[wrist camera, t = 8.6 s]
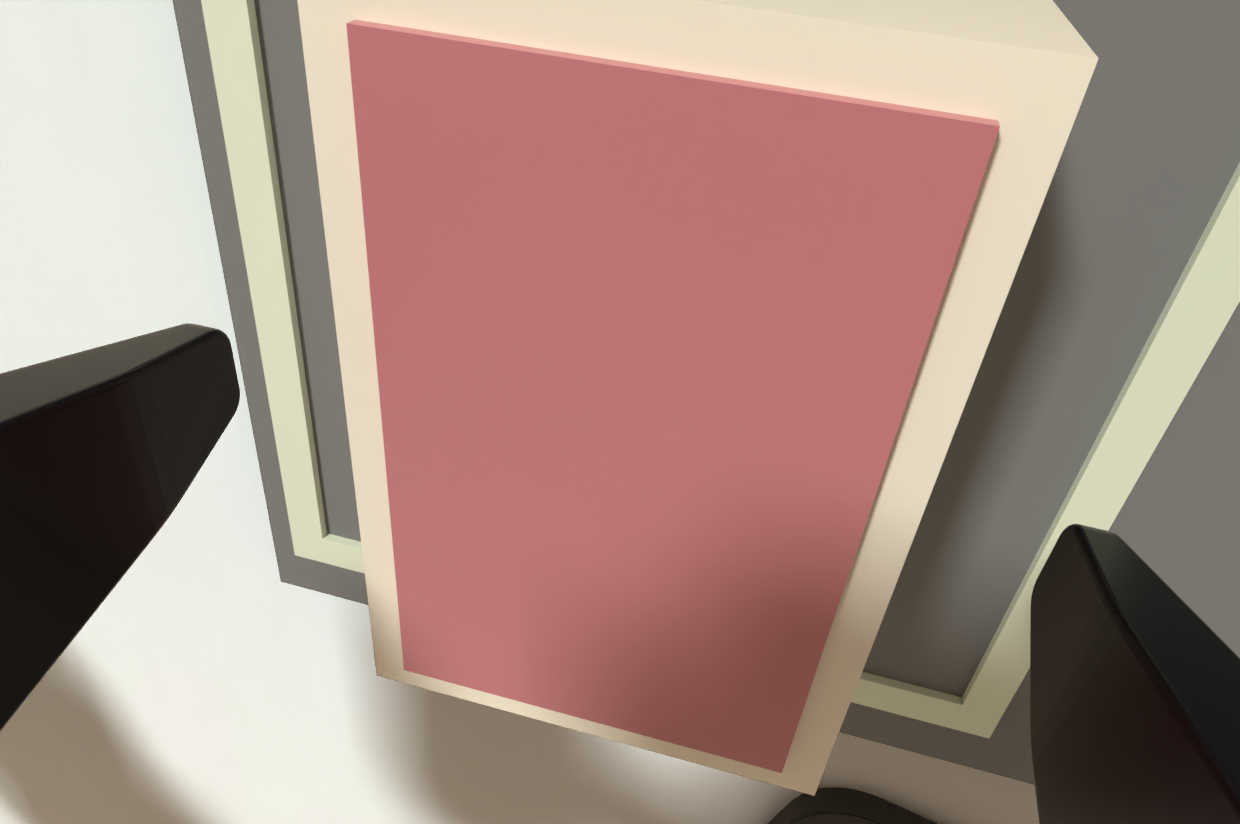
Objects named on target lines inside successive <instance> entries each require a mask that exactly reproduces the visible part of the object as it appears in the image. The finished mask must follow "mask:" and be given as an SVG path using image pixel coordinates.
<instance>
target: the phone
mask: <svg viewBox="0 0 1240 824" xmlns="http://www.w3.org/2000/svg"><path fill="white" fill-rule="evenodd" d="M768 824H937V823H935V822H932V821H930V820H928V819H926V818H924V817H921V816H919V815H917V814H915V813H913V812H911V811H908V810H906V809H904V808H902V807H900V806H897V805H895V804H893V803H891V802H888V801H886V800H884V799H881V798H879V797H877V796H874V795H871V794H868V793H865V792H861V791H857V790H852V789H846V788H821V789H817V791H816V793H815V796H813V795H809V794H806V793H804V794H802V795H800V796H798V797H797V798H795V799H794V800H793V801H791V802H790V803H789V804H788V805H787V806H786V807H785V808H784V809H783V810H781V811H780V812H779V813H778V814H777V815H776V816H775V817H774V818H773V819H772V820H771V821H770V822H769V823H768Z"/></svg>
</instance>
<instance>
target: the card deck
mask: <svg viewBox="0 0 1240 824" xmlns="http://www.w3.org/2000/svg"><path fill="white" fill-rule="evenodd" d="M297 2H298V11H299V19H300V28H301V36H302V45H303V53H304V62H305V70H306V78H307V87H308V95H309V104H310V112H311V121H312V129H313V138H314V146H315V155H316V163H317V172H318V180H319V189H320V197H321V206H322V214H323V223H324V231H325V240H326V248H327V257H328V265H329V274H330V282H331V291H332V299H333V308H334V316H335V325H336V333H337V342H338V350H339V359H340V367H341V376H342V384H343V393H344V401H345V410H346V418H347V427H348V435H349V444H350V452H351V461H352V469H353V478H354V486H355V495H356V503H357V512H358V520H359V529H360V537H361V546H362V554H363V563H364V571H365V580H366V588H367V597H368V605H369V614H370V622H371V631H372V639H373V648H374V656H375V665H376V673H377V676H381V677H384V678H388V679H392V680H395V681H399V682H402V683H406V684H410V685H413V686H417V687H421V688H424V689H428V690H431V691H435V692H439V693H442V694H446V695H450V696H453V697H457V698H461V699H464V700H468V701H471V702H475V703H479V704H482V705H486V706H490V707H493V708H497V709H500V710H504V711H508V712H511V713H515V714H519V715H522V716H526V717H530V718H533V719H537V720H540V721H544V722H548V723H551V724H555V725H559V726H562V727H566V728H569V729H573V730H577V731H580V732H584V733H588V734H591V735H595V736H599V737H602V738H606V739H609V740H613V741H617V742H620V743H624V744H628V745H631V746H635V747H638V748H642V749H646V750H649V751H653V752H657V753H660V754H664V755H668V756H671V757H675V758H678V759H682V760H686V761H689V762H693V763H697V764H700V765H704V766H707V767H711V768H715V769H718V770H722V771H726V772H729V773H733V774H737V775H740V776H744V777H747V778H751V779H755V780H758V781H762V782H766V783H769V784H773V785H776V786H780V787H784V788H787V789H791V790H795V791H798V792H802V793H806V794H809V795H813V796H815V793H816V791H817V788H818V785H819V783H820V780H821V778H822V775H823V772H824V770H825V767H826V765H827V762H828V759H829V757H830V754H831V752H832V749H833V747H834V744H835V741H836V739H837V736H838V734H839V731H840V728H841V726H842V723H843V721H844V718H845V715H846V713H847V710H848V708H849V705H850V702H851V700H852V697H853V695H854V692H855V689H856V687H857V684H858V682H859V679H860V676H861V674H862V671H863V669H864V666H865V663H866V661H867V658H868V656H869V653H870V650H871V648H872V645H873V643H874V640H875V638H876V635H877V632H878V630H879V627H880V625H881V622H882V619H883V617H884V614H885V612H886V609H887V606H888V604H889V601H890V599H891V596H892V593H893V591H894V588H895V586H896V583H897V580H898V578H899V575H900V573H901V570H902V567H903V565H904V562H905V560H906V557H907V554H908V552H909V549H910V547H911V544H912V542H913V539H914V536H915V534H916V531H917V529H918V526H919V523H920V521H921V518H922V516H923V513H924V510H925V508H926V505H927V503H928V500H929V497H930V495H931V492H932V490H933V487H934V484H935V482H936V479H937V477H938V474H939V471H940V469H941V466H942V464H943V461H944V458H945V456H946V453H947V451H948V448H949V445H950V443H951V440H952V438H953V435H954V433H955V430H956V427H957V425H958V422H959V420H960V417H961V414H962V412H963V409H964V407H965V404H966V401H967V399H968V396H969V394H970V391H971V388H972V386H973V383H974V381H975V378H976V375H977V373H978V370H979V368H980V365H981V362H982V360H983V357H984V355H985V352H986V349H987V347H988V344H989V342H990V339H991V337H992V334H993V331H994V329H995V326H996V324H997V321H998V318H999V316H1000V313H1001V311H1002V308H1003V305H1004V303H1005V300H1006V298H1007V295H1008V292H1009V290H1010V287H1011V285H1012V282H1013V279H1014V277H1015V274H1016V272H1017V269H1018V266H1019V264H1020V261H1021V259H1022V256H1023V253H1024V251H1025V248H1026V246H1027V243H1028V240H1029V238H1030V235H1031V233H1032V230H1033V228H1034V225H1035V222H1036V220H1037V217H1038V215H1039V212H1040V209H1041V207H1042V204H1043V202H1044V199H1045V196H1046V194H1047V191H1048V189H1049V186H1050V183H1051V181H1052V178H1053V176H1054V173H1055V170H1056V168H1057V165H1058V163H1059V160H1060V157H1061V155H1062V152H1063V150H1064V147H1065V144H1066V142H1067V139H1068V137H1069V134H1070V131H1071V129H1072V126H1073V124H1074V121H1075V119H1076V116H1077V113H1078V111H1079V108H1080V106H1081V103H1082V100H1083V98H1084V95H1085V93H1086V90H1087V87H1088V85H1089V82H1090V80H1091V77H1092V74H1093V72H1094V69H1095V67H1096V64H1097V61H1098V59H1099V58H1098V57H1097V56H1096V54H1095V53H1094V52H1093V51H1092V49H1091V48H1090V47H1089V46H1088V44H1087V43H1086V42H1085V40H1084V39H1083V38H1082V37H1081V35H1080V34H1079V33H1078V32H1077V30H1076V29H1075V28H1074V27H1073V25H1072V24H1071V23H1070V22H1069V20H1068V19H1067V18H1066V17H1065V15H1064V14H1063V13H1062V12H1061V10H1060V9H1059V8H1058V6H1057V5H1056V4H1055V3H1054V1H1053V0H297Z"/></svg>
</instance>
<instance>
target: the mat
mask: <svg viewBox="0 0 1240 824" xmlns="http://www.w3.org/2000/svg"><path fill="white" fill-rule="evenodd" d="M1053 1H1054V3H1055V4H1056V5H1057V6H1058V8H1059V9H1060V10H1061V12H1062V13H1063V14H1064V15H1065V17H1066V18H1067V19H1068V20H1069V22H1070V23H1071V24H1072V25H1073V27H1074V28H1075V29H1076V30H1077V32H1078V33H1079V34H1080V35H1081V37H1082V38H1083V39H1084V40H1085V42H1086V43H1087V44H1088V46H1089V47H1090V48H1091V49H1092V51H1093V52H1094V53H1095V54H1096V56H1097V57H1098V58H1099V59H1098V61H1097V64H1096V67H1095V69H1094V72H1093V74H1092V77H1091V80H1090V82H1089V85H1088V87H1087V90H1086V93H1085V95H1084V98H1083V100H1082V103H1081V106H1080V108H1079V111H1078V113H1077V116H1076V119H1075V121H1074V124H1073V126H1072V129H1071V131H1070V134H1069V137H1068V139H1067V142H1066V144H1065V147H1064V150H1063V152H1062V155H1061V157H1060V160H1059V163H1058V165H1057V168H1056V170H1055V173H1054V176H1053V178H1052V181H1051V183H1050V186H1049V189H1048V191H1047V194H1046V196H1045V199H1044V202H1043V204H1042V207H1041V209H1040V212H1039V215H1038V217H1037V220H1036V222H1035V225H1034V228H1033V230H1032V233H1031V235H1030V238H1029V240H1028V243H1027V246H1026V248H1025V251H1024V253H1023V256H1022V259H1021V261H1020V264H1019V266H1018V269H1017V272H1016V274H1015V277H1014V279H1013V282H1012V285H1011V287H1010V290H1009V292H1008V295H1007V298H1006V300H1005V303H1004V305H1003V308H1002V311H1001V313H1000V316H999V318H998V321H997V324H996V326H995V329H994V331H993V334H992V337H991V339H990V342H989V344H988V347H987V349H986V352H985V355H984V357H983V360H982V362H981V365H980V368H979V370H978V373H977V375H976V378H975V381H974V383H973V386H972V388H971V391H970V394H969V396H968V399H967V401H966V404H965V407H964V409H963V412H962V414H961V417H960V420H959V422H958V425H957V427H956V430H955V433H954V435H953V438H952V440H951V443H950V445H949V448H948V451H947V453H946V456H945V458H944V461H943V464H942V466H941V469H940V471H939V474H938V477H937V479H936V482H935V484H934V487H933V490H932V492H931V495H930V497H929V500H928V503H927V505H926V508H925V510H924V513H923V516H922V518H921V521H920V523H919V526H918V529H917V531H916V534H915V536H914V539H913V542H912V544H911V547H910V549H909V552H908V554H907V557H906V560H905V562H904V565H903V567H902V570H901V573H900V575H899V578H898V580H897V583H896V586H895V588H894V591H893V593H892V596H891V599H890V601H889V604H888V606H887V609H886V612H885V614H884V617H883V619H882V622H881V625H880V627H879V630H878V632H877V635H876V638H875V640H874V643H873V645H872V648H871V650H870V653H869V656H868V658H867V661H866V663H865V666H864V669H863V671H862V674H861V676H860V679H859V682H858V684H857V687H856V689H855V692H854V695H853V697H852V700H851V702H850V705H849V708H848V710H847V713H846V715H845V718H844V721H843V723H842V726H841V728H840V731H839V732H842V733H846V734H849V735H853V736H857V737H860V738H864V739H868V740H871V741H875V742H879V743H883V744H886V745H890V746H894V747H897V748H901V749H905V750H909V751H912V752H916V753H920V754H923V755H927V756H931V757H935V758H938V759H942V760H946V761H949V762H953V763H957V764H961V765H964V766H968V767H972V768H975V769H979V770H983V771H987V772H990V773H994V774H998V775H1001V776H1005V777H1009V778H1013V779H1016V780H1020V781H1024V782H1027V783H1031V784H1035V782H1034V774H1033V765H1032V754H1031V743H1030V621H1031V597H1032V592H1033V588H1034V585H1035V582H1036V580H1037V578H1038V576H1039V574H1040V572H1041V570H1042V568H1043V566H1044V565H1045V563H1046V561H1047V559H1048V557H1049V555H1050V553H1051V551H1052V549H1053V548H1054V546H1055V544H1056V542H1057V540H1058V538H1059V536H1060V535H1061V533H1062V532H1063V530H1064V529H1065V528H1066V527H1067V526H1069V525H1072V524H1080V525H1085V526H1089V527H1094V528H1098V529H1103V530H1107V531H1111V532H1113V533H1115V534H1117V535H1118V536H1119V537H1120V538H1121V539H1122V540H1123V541H1124V542H1125V543H1126V544H1127V545H1128V546H1129V547H1130V548H1131V549H1132V550H1133V551H1134V552H1135V553H1136V554H1137V555H1138V556H1139V557H1140V558H1141V559H1142V560H1143V561H1144V562H1145V563H1146V564H1147V565H1148V566H1149V567H1150V568H1151V569H1152V570H1153V571H1154V572H1155V573H1156V574H1157V575H1158V576H1159V577H1160V578H1161V579H1162V580H1163V581H1164V582H1165V583H1166V584H1167V585H1168V586H1169V587H1170V588H1171V589H1172V590H1173V591H1174V592H1175V593H1176V594H1177V595H1178V596H1179V597H1180V598H1181V599H1182V600H1183V601H1184V602H1185V603H1186V604H1187V605H1188V606H1189V607H1190V608H1191V609H1192V610H1193V611H1194V612H1195V613H1196V614H1197V615H1198V616H1199V617H1200V618H1201V619H1202V620H1203V621H1204V622H1205V623H1206V624H1207V625H1208V626H1209V627H1210V628H1211V630H1212V631H1213V632H1214V633H1215V634H1216V635H1217V636H1218V637H1219V638H1220V639H1221V640H1222V641H1223V642H1224V643H1225V644H1226V645H1227V646H1228V647H1229V648H1230V649H1231V650H1232V651H1233V652H1234V653H1235V654H1236V655H1237V656H1238V657H1239V658H1240V0H1053ZM173 5H174V10H175V15H176V21H177V26H178V31H179V37H180V42H181V47H182V53H183V58H184V64H185V69H186V74H187V80H188V85H189V90H190V96H191V101H192V106H193V112H194V117H195V123H196V128H197V133H198V139H199V144H200V149H201V155H202V160H203V165H204V171H205V176H206V182H207V187H208V192H209V198H210V203H211V208H212V214H213V219H214V225H215V230H216V235H217V241H218V246H219V251H220V257H221V262H222V267H223V273H224V278H225V284H226V289H227V294H228V300H229V305H230V310H231V316H232V321H233V326H234V332H235V337H236V343H237V348H238V353H239V359H240V364H241V369H242V375H243V380H244V385H245V391H246V396H247V402H248V407H249V412H250V418H251V423H252V428H253V434H254V439H255V444H256V450H257V455H258V461H259V466H260V471H261V477H262V482H263V487H264V493H265V498H266V503H267V509H268V514H269V520H270V525H271V530H272V536H273V541H274V546H275V552H276V557H277V562H278V568H279V573H280V579H281V582H285V583H289V584H293V585H296V586H300V587H304V588H307V589H311V590H315V591H319V592H322V593H326V594H330V595H333V596H337V597H341V598H345V599H348V600H352V601H356V602H359V603H363V604H367V605H368V597H367V588H366V580H365V571H364V563H363V554H362V546H361V537H360V529H359V520H358V512H357V503H356V495H355V486H354V478H353V469H352V461H351V452H350V444H349V435H348V427H347V418H346V410H345V401H344V393H343V384H342V376H341V367H340V359H339V350H338V342H337V333H336V325H335V316H334V308H333V299H332V291H331V282H330V274H329V265H328V257H327V248H326V240H325V231H324V223H323V214H322V206H321V197H320V189H319V180H318V172H317V163H316V155H315V146H314V138H313V129H312V121H311V112H310V104H309V95H308V87H307V78H306V70H305V62H304V53H303V45H302V36H301V28H300V19H299V11H298V2H297V0H173Z"/></svg>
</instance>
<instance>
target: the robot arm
mask: <svg viewBox="0 0 1240 824" xmlns="http://www.w3.org/2000/svg"><path fill="white" fill-rule="evenodd" d="M239 398H240V390H239V384H238V379H237V374H236V369H235V364H234V358H233V353H232V348H231V343H230V340H229V338H228V337H227V335H226V334H225V333H224V332H222V331H221V330H218V329H214V328H210V327H205V326H201V325H197V324H182V325H179V326H175V327H171V328H168V329H164V330H160V331H156V332H153V333H149V334H145V335H142V336H138V337H134V338H131V339H127V340H123V341H119V342H116V343H112V344H108V345H105V346H101V347H97V348H94V349H90V350H86V351H82V352H79V353H75V354H71V355H68V356H64V357H60V358H57V359H53V360H49V361H45V362H42V363H38V364H34V365H31V366H27V367H23V368H20V369H16V370H12V371H8V372H5V373H1V374H0V731H1V730H2V729H3V728H4V726H5V725H6V724H7V722H8V721H9V720H10V719H11V717H12V716H13V715H14V714H15V712H16V711H17V710H18V709H19V707H20V706H21V705H22V703H23V702H24V701H25V700H26V698H27V697H28V696H29V695H30V693H31V692H32V691H33V690H34V688H35V687H36V686H37V685H38V683H39V682H40V681H41V679H42V678H43V677H44V676H45V674H46V673H47V672H48V671H49V669H50V668H51V667H52V666H53V664H54V663H55V662H56V660H57V659H58V658H59V657H60V655H61V654H62V653H63V652H64V650H65V649H66V648H67V647H68V645H69V644H70V643H71V641H72V640H73V639H74V638H75V636H76V635H77V634H78V633H79V631H80V630H81V629H82V628H83V626H84V625H85V624H86V622H87V621H88V620H89V619H90V617H91V616H92V615H93V614H94V612H95V611H96V610H97V609H98V607H99V606H100V605H101V603H102V602H103V601H104V600H105V598H106V597H107V596H108V595H109V593H110V592H111V591H112V590H113V588H114V587H115V586H116V585H117V583H118V582H119V581H120V579H121V578H122V577H123V576H124V574H125V573H126V572H127V571H128V569H129V568H130V567H131V566H132V564H133V563H134V562H135V560H136V559H137V558H138V557H139V555H140V554H141V553H142V552H143V550H144V549H145V548H146V547H147V545H148V544H149V543H150V541H151V540H152V539H153V538H154V536H155V535H156V534H157V533H158V531H159V530H160V529H161V527H162V526H163V524H164V523H165V522H166V520H167V519H168V518H169V516H170V515H171V513H172V512H173V510H174V509H175V507H176V506H177V504H178V503H179V502H180V500H181V499H182V497H183V495H184V494H185V492H186V491H187V489H188V487H189V486H190V484H191V483H192V481H193V479H194V478H195V476H196V475H197V473H198V471H199V470H200V468H201V467H202V465H203V464H204V462H205V460H206V459H207V457H208V456H209V454H210V452H211V451H212V449H213V448H214V446H215V444H216V443H217V441H218V440H219V438H220V436H221V435H222V433H223V432H224V430H225V429H226V427H227V425H228V424H229V422H230V421H231V419H232V417H233V416H234V414H235V412H236V410H237V407H238V404H239ZM1030 743H1031V754H1032V765H1033V774H1034V782H1035V790H1036V799H1037V807H1038V815H1039V823H1040V824H1240V658H1239V657H1238V656H1237V655H1236V654H1235V653H1234V652H1233V651H1232V650H1231V649H1230V648H1229V647H1228V646H1227V645H1226V644H1225V643H1224V642H1223V641H1222V640H1221V639H1220V638H1219V637H1218V636H1217V635H1216V634H1215V633H1214V632H1213V631H1212V630H1211V628H1210V627H1209V626H1208V625H1207V624H1206V623H1205V622H1204V621H1203V620H1202V619H1201V618H1200V617H1199V616H1198V615H1197V614H1196V613H1195V612H1194V611H1193V610H1192V609H1191V608H1190V607H1189V606H1188V605H1187V604H1186V603H1185V602H1184V601H1183V600H1182V599H1181V598H1180V597H1179V596H1178V595H1177V594H1176V593H1175V592H1174V591H1173V590H1172V589H1171V588H1170V587H1169V586H1168V585H1167V584H1166V583H1165V582H1164V581H1163V580H1162V579H1161V578H1160V577H1159V576H1158V575H1157V574H1156V573H1155V572H1154V571H1153V570H1152V569H1151V568H1150V567H1149V566H1148V565H1147V564H1146V563H1145V562H1144V561H1143V560H1142V559H1141V558H1140V557H1139V556H1138V555H1137V554H1136V553H1135V552H1134V551H1133V550H1132V549H1131V548H1130V547H1129V546H1128V545H1127V544H1126V543H1125V542H1124V541H1123V540H1122V539H1121V538H1120V537H1119V536H1118V535H1117V534H1115V533H1113V532H1111V531H1107V530H1103V529H1098V528H1094V527H1089V526H1085V525H1080V524H1072V525H1069V526H1067V527H1066V528H1065V529H1064V530H1063V532H1062V533H1061V535H1060V536H1059V538H1058V540H1057V542H1056V544H1055V546H1054V548H1053V549H1052V551H1051V553H1050V555H1049V557H1048V559H1047V561H1046V563H1045V565H1044V566H1043V568H1042V570H1041V572H1040V574H1039V576H1038V578H1037V580H1036V582H1035V585H1034V588H1033V592H1032V597H1031V621H1030Z"/></svg>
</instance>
